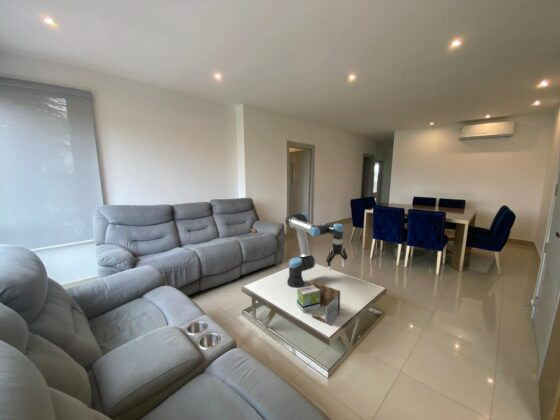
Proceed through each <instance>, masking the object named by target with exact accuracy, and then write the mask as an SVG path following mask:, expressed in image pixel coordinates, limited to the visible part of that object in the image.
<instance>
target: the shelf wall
mask: <svg viewBox="0 0 560 420" xmlns="http://www.w3.org/2000/svg"><path fill="white" fill-rule="evenodd" d="M311 285H314V286H316V287H317V288H318V289H319V290H320V306H321V305H322V306H324V307H325V308H326V307H327V306H328V305H329V304H330V303H331V302H332V301H333V300H334V299H335V298H336V297H337V296H339V306H338V311H341V310H340V309H341V290H339V289H336V288H332V287H331V286H330V287H329V286H326V285H324V284H321V283H318V282H315V281H312V280H309V281H308V286H311ZM311 316H312V319H315V320H316V321H319V322H321V323H324V324H325V318H323V317H322V316H319V315H317V314H315V313H312V315H311Z"/></svg>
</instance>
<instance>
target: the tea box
mask: <svg viewBox="0 0 560 420" xmlns="http://www.w3.org/2000/svg"><path fill="white" fill-rule="evenodd" d="M296 292H297V293H296V306H297V308H298V309H299V310H300V311H301V312H302V313H305V312H309V311H312V310H316V309H320V307H321V304H320V290H319V289H318V288H317V287H316V286H314V285H311V286H309V285H308V286H307V285H306V286H302V287H297V291H296Z"/></svg>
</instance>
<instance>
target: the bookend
mask: <svg viewBox="0 0 560 420" xmlns="http://www.w3.org/2000/svg"><path fill="white" fill-rule="evenodd" d="M338 306H339V296H337V297H336V298H335V299H334V300H333V301H332V302H331V303H330V304H329V305H328V306H327V307H326V306H325V316H324V317H325V318H324V319H325V323H324V324H326V325H328V326H331V325H332V324H333V323H334V322H335V321H336V320H337V319H338V317H339V316H340V315H341V314H342V311H341V310H340V311H338Z"/></svg>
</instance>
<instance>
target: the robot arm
mask: <svg viewBox="0 0 560 420" xmlns="http://www.w3.org/2000/svg"><path fill="white" fill-rule="evenodd" d="M308 221H309V217H308V215H307V214H306V213H304V212H298V213H289V214H288V215H286V217H285V219H284V222H285V224H286V226H287V227H289V228H291V229H295V230H296V235H297V240H298V246H299V251H300V255H299V257H293V258H291V259H289V261H288V269H289V271H288V273H289V274H288V278H287V285H288V286H289V287H291V288H302V287H304V278H303V274H302V273H303V272H306V271H307V270H311V269H313V268H314V267H316V262H317V261H316V258H315V257H314V255H313V254H312V253H311V252H310V246H309V242H308V235H307V233H308V234H309V235H310V236H311V237H320V236H323V235H327V234H329V235H332V249H329V252H328V255H327V257H326V259H325V262H326V263H327V270H328V271H332V261H333V260H334V258H335V257H336V256H341V267H343V268H345V265H346V264H345V263H346V260H347V259H348V258H349V257H348V254H347V253H346V248H345V247H343V241H344V225H343V224H341V223H334V224H331V223H326V222H323V224H322V225H315V224H312V223H309V222H308Z"/></svg>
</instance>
